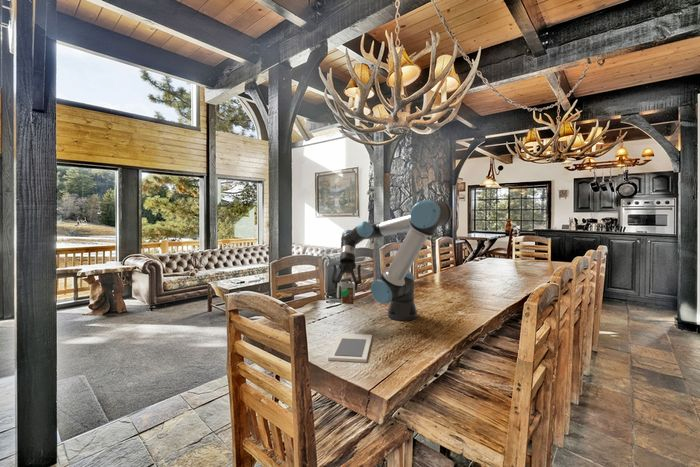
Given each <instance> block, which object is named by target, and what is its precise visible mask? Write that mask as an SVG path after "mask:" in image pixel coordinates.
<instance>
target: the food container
mask: <svg viewBox="0 0 700 467" xmlns="http://www.w3.org/2000/svg"><path fill="white" fill-rule="evenodd" d="M353 283H354V282H353V280H352V277H347V278H343V279H342V278H341V280H340V282H339V286H340V292H341V294H340V295H341V302H342V303H343V304H345V305H354V298H353Z"/></svg>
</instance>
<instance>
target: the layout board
mask: <svg viewBox="0 0 700 467" xmlns="http://www.w3.org/2000/svg"><path fill="white" fill-rule="evenodd" d="M372 338H373V335H372V334H362V333H360V334H359V333H339V336H338V337H337V339H336V341H335V342H334V345H333V347H332V349H331V351H330V353H329V355H328V357H327V360H328V361H334V362H335V361H336V362H337V361H339V362H355V363H357V362H358V363H367V361H368V356H369V352H370V348H371V344H372Z"/></svg>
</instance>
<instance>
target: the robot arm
mask: <svg viewBox="0 0 700 467" xmlns="http://www.w3.org/2000/svg"><path fill="white" fill-rule="evenodd" d="M452 216H453V210H452V208H451V206H450V205H449V203H447V202H446V201H443V200H433V199H432V200H431V199H423V200H421V201H418V202H416V203H415V204H414V205H413V206H412V208H411V209H410V213H409V214H406V215H403V216H399V217H395V218H392V219H388V220H384V221H381V222H378V223H373V224H371V223H370V222H368V221H364V220H363V221H362V222H360V223H359V224H358V225H356V226H355V227H354V228H352V229H347V230H344V231H343V232H342V234H341V238H340V240H341V241H340V255H339V264H338V265H336V264H333V271H332V276H331V284H332V285H334V290H335V292H336V298H337V299H339V298H340V289H341V286H339V283H340V280H342V278H343V276H344V274H346V273H349V274H350V275H351V279H352V283H353V299H356V292H357V291H358V288H359V287H358V285H361V284H362V276H361V270H362V265H361V264H358V265H357V264H356V246H357V245H358V244H360V243H361V242H363V241H364V240H370V239H371V240H372V239H381V238H384V237H386V236H391V235H394V234H399V233H402V232H406V231H407V233H406V235H405V237H404V239H403V240H402V242H401V243H400V244H401V245H400V246H399V247H398V250H397V252H396V254H395V256H394V257H393V259H392V260H391V262H390V264H389V266H388V268H387V269H385V270H383V271H382V272H381V275H380V276H379V278H378V279H375V280H373V281H372V284H371V285H370V293H371V295H372V298H373V299H374V300H375V301H376V302H377V303H379V304H383V305H385V304H389V306H388V310H387V317H388V318H389V319H391V320H395V321H399V322H401V321H403V322H406V321H413V320H416V319H417V318H418V310H417V308H416V305H415V304H416V303H415V279H414V277H415V276H414V274H413V273H412V272H409V270H410V269H411V267H412V265H413V264H414V262H415V260H416V259H417V257H418V255H419V253H420V251H421V250H422V248H423V246H424V245H425V242H427V239H428V238H429V237H433V235H434V234H435V233H436V231H437V230H438V227H443V226H445V225H447V224H448V223H449V222H450V221H451V219H452ZM355 269H356V270H357V277H358V280H357V277H356V275H355V273H354V270H355ZM338 270H340V271H339V273H338V272H337V271H338ZM337 273H338V275H337Z"/></svg>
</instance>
